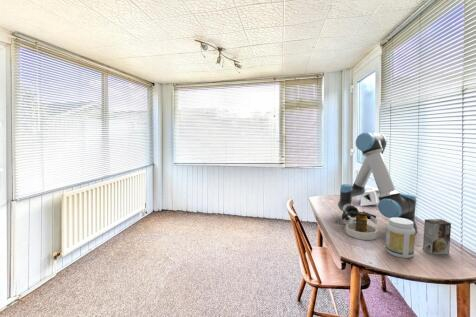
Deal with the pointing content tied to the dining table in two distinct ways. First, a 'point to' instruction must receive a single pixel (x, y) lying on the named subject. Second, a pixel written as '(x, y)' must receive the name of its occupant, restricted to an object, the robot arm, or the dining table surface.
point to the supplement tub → (400, 237)
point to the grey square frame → (340, 220)
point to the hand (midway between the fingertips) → (364, 221)
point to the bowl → (370, 235)
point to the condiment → (361, 222)
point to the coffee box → (436, 236)
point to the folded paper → (369, 196)
